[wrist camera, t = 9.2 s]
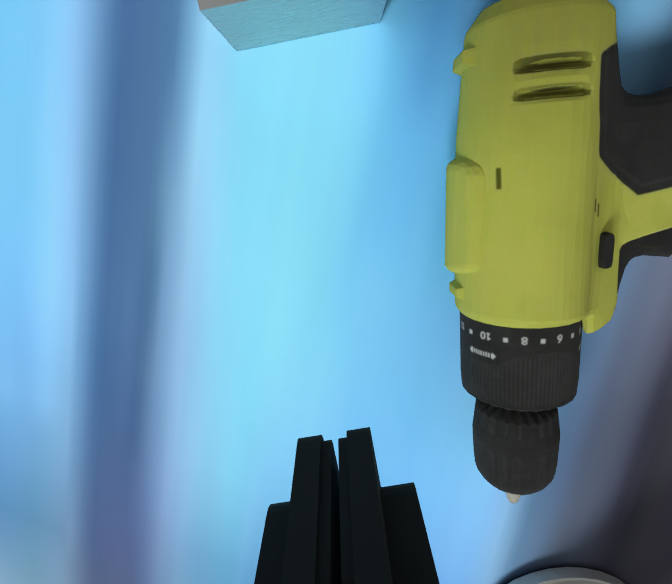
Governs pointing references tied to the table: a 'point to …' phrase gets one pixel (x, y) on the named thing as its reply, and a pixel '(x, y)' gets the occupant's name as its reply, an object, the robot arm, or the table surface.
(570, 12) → the cordless drill
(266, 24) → the socket block
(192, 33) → the table surface
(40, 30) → the table surface
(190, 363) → the table surface
